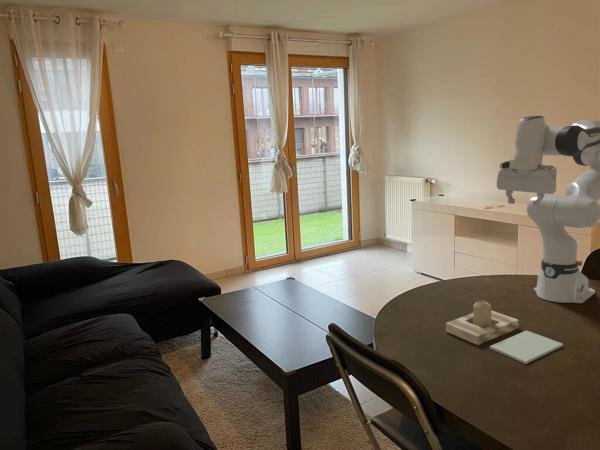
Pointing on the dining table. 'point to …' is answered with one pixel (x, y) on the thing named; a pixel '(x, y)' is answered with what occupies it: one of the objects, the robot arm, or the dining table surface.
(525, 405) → the dining table surface
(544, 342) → the sage mat
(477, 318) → the candle
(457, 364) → the dining table surface
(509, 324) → the socket block
